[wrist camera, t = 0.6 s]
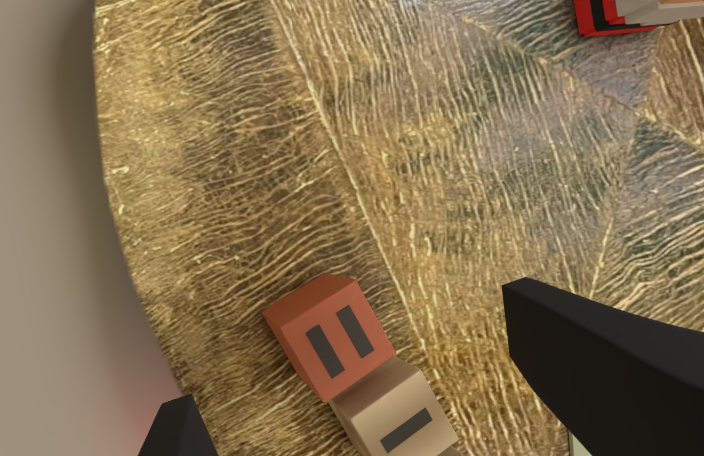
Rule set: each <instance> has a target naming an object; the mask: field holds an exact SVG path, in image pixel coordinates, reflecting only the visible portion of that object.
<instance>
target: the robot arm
mask: <svg viewBox="0 0 704 456" xmlns="http://www.w3.org/2000/svg"><path fill="white" fill-rule="evenodd" d="M502 292H503V301H504V310H505V319H506V327H507V336H508V345H509V354H510V357H511V359H512V360H513V362H514V363H515V365H516V366H517V368H518V369H519V371H520V372H521V374H522V375H523V377H524V378H525V379H526V381H527V382H528V384H529V385H530V386H531V388H532V389H533V391H534V392H535V393H536V394H537V395H538V396H539V398H540V399H541V400H542V401H543V402H544V403H545V404H546V405H547V407H548V408H549V409H550V410H551V411H552V412H553V413H554V414H555V416H556V417H557V418H558V419H559V420H560V421H561V422H562V423H563V424H564V426H565V427H566V428H567V429H568V430H569V431H570V432H571V433H572V434H573V435H574V437H575V438H576V439H577V440H578V441H579V442H580V443H581V444H582V445H583V446H584V448H585V449H586V450H587V451H588V452H589V453H590V454H591V455H592V456H704V332H700V331H695V330H691V329H686V328H682V327H678V326H674V325H670V324H666V323H662V322H659V321H655V320H652V319H649V318H645V317H642V316H638V315H635V314H632V313H628V312H625V311H622V310H619V309H616V308H613V307H610V306H607V305H604V304H601V303H598V302H595V301H593V300H590V299H587V298H584V297H581V296H579V295H576V294H573V293H570V292H568V291H565V290H562V289H559V288H557V287H554V286H551V285H548V284H546V283H543V282H540V281H537V280H534V279H530V278H527V277H524V278H522V279H519V280H516V281H513V282H510V283H507V284H504V285H502ZM138 456H218V454H217V451H216V449H215V447H214V444H213V442H212V440H211V438H210V435H209V433H208V431H207V428H206V426H205V424H204V422H203V419H202V417H201V415H200V412H199V410H198V408H197V406H196V403H195V401H194V399H193V396H192V394H188V395H185V396H183V397H180V398H177V399H174V400H171V401H168V402H165V403H163V404H162V405H161V407H160V409H159V411H158V413H157V415H156V417H155V419H154V421H153V424H152V426H151V428H150V430H149V433H148V435H147V437H146V439H145V441H144V443H143V446H142V448H141V450H140V452H139V454H138Z"/></svg>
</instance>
